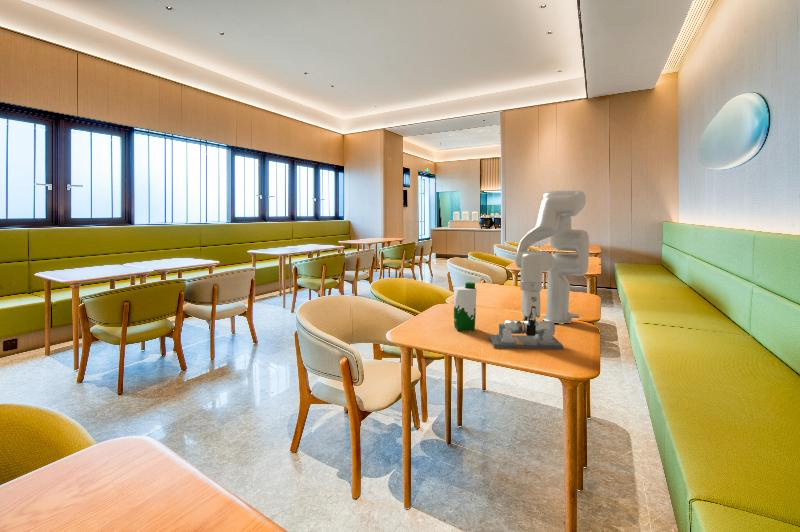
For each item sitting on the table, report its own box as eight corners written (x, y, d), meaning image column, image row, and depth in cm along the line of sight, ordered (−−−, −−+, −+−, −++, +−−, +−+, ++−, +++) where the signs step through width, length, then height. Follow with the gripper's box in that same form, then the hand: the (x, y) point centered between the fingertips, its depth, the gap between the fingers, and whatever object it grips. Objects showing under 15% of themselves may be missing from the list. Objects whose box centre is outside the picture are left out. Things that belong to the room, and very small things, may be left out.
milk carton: (477, 331, 171) (478, 284, 169) (456, 332, 171) (457, 285, 168) (471, 326, 180) (473, 281, 178) (451, 326, 179) (452, 281, 177)
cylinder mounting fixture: (552, 339, 160) (553, 323, 160) (563, 349, 148) (564, 332, 148) (488, 338, 162) (489, 322, 161) (493, 348, 150) (494, 331, 149)
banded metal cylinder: (550, 333, 156) (551, 320, 156) (554, 336, 151) (555, 322, 151) (503, 332, 157) (503, 319, 157) (505, 334, 152) (506, 321, 152)
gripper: (547, 290, 144) (545, 340, 146) (535, 282, 161) (532, 327, 163) (526, 290, 144) (524, 339, 146) (515, 282, 161) (513, 327, 163)
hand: (528, 332), depth 155 cm, fingers closed on banded metal cylinder, 5 cm apart
